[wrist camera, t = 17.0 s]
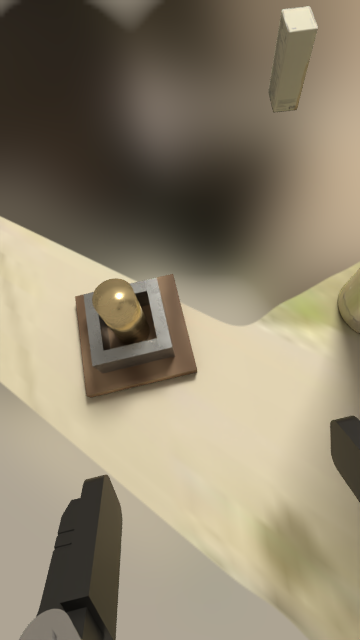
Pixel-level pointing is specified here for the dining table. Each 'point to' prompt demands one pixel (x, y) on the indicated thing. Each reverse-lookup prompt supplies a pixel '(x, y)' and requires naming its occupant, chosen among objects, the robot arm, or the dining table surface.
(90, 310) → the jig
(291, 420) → the dining table surface
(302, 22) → the skincare box
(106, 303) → the gold dome cylinder
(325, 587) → the dining table surface
